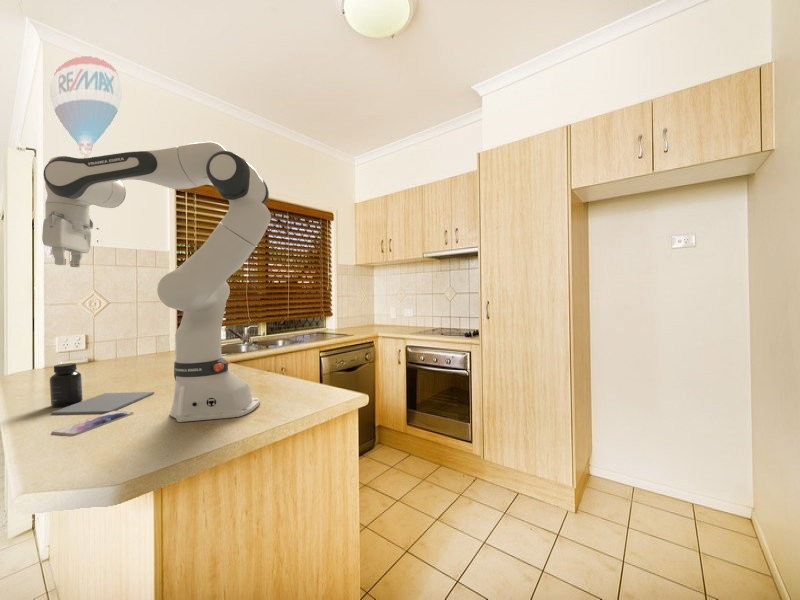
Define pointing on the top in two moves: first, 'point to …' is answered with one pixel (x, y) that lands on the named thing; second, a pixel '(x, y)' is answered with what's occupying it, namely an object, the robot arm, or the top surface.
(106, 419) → the smartphone
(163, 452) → the top surface
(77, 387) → the supplement bottle
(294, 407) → the top surface
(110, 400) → the rubber mat
